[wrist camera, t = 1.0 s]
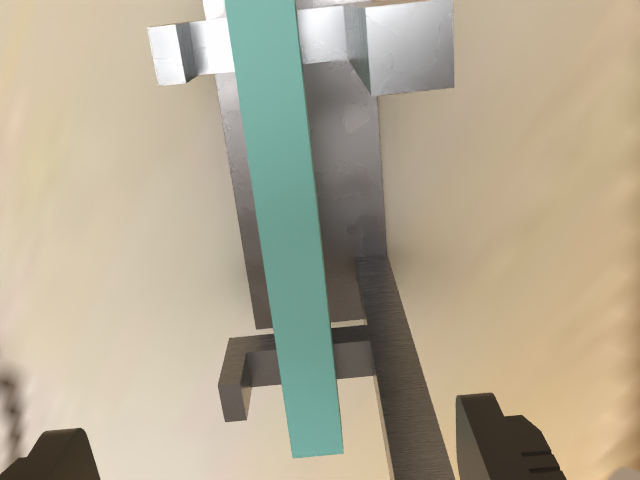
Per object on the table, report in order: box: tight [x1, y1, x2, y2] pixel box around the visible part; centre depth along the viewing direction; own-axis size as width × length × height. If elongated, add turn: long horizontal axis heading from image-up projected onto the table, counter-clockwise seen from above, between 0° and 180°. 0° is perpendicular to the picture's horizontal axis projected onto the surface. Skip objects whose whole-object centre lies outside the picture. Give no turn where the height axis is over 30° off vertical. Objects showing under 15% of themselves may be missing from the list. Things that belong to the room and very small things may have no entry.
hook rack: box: [147, 0, 455, 480], centre depth 27 cm, size 9×22×22 cm, turn 6°
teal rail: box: [224, 0, 343, 458], centre depth 25 cm, size 2×22×2 cm, turn 6°
